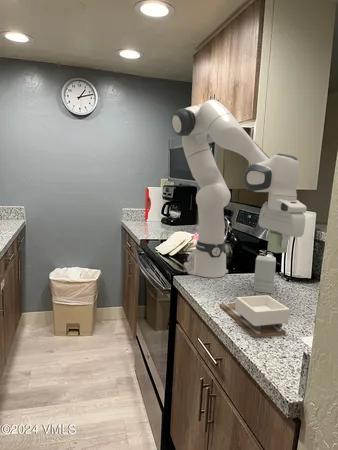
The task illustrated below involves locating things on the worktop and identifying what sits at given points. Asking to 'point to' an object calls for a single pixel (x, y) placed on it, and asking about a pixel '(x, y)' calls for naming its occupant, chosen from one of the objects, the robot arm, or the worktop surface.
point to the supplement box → (264, 274)
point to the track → (263, 332)
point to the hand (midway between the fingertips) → (277, 245)
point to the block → (276, 243)
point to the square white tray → (262, 310)
